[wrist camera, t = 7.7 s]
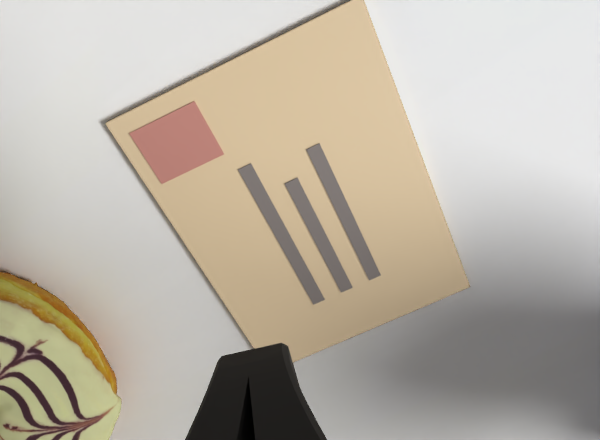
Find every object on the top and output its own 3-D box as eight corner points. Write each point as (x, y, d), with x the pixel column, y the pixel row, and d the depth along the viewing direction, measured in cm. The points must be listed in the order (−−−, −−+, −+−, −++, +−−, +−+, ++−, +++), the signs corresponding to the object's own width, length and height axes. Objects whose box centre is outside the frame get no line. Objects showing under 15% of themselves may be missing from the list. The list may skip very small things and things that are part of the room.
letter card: (468, 284, 22) (470, 287, 22) (269, 369, 23) (269, 372, 23) (361, -6, 16) (362, -5, 16) (106, 122, 17) (105, 124, 17)
